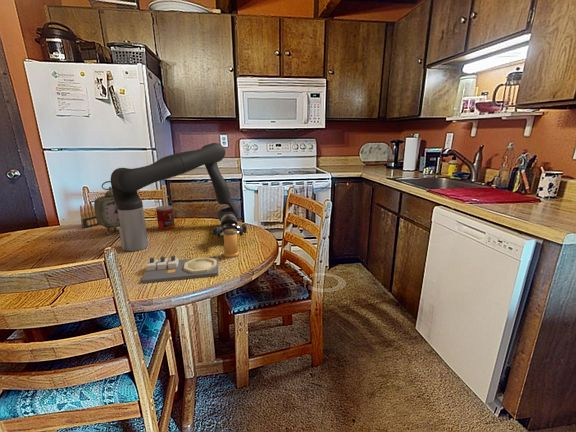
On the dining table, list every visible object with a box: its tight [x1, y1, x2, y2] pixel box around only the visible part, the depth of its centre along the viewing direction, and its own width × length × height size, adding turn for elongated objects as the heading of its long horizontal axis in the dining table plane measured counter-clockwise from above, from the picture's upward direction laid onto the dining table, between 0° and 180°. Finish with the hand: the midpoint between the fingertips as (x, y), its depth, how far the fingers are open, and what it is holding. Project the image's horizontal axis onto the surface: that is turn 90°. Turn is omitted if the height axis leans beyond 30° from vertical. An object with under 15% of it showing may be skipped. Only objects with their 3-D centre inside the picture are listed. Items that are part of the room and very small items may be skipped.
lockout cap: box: [223, 229, 240, 259], centre depth 116 cm, size 6×6×10 cm
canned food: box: [155, 205, 176, 231], centre depth 149 cm, size 8×8×11 cm
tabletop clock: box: [93, 180, 120, 236], centre depth 142 cm, size 14×9×25 cm, turn 143°
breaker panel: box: [141, 255, 219, 284], centre depth 104 cm, size 24×14×4 cm, turn 102°
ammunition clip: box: [79, 203, 101, 229], centre depth 153 cm, size 11×2×12 cm, turn 152°
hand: (230, 234), depth 122 cm, fingers open, 8 cm apart
